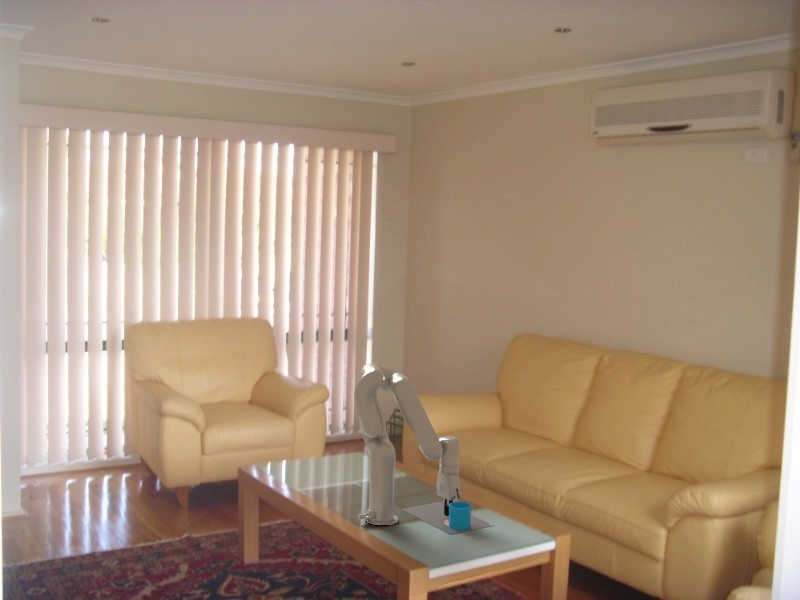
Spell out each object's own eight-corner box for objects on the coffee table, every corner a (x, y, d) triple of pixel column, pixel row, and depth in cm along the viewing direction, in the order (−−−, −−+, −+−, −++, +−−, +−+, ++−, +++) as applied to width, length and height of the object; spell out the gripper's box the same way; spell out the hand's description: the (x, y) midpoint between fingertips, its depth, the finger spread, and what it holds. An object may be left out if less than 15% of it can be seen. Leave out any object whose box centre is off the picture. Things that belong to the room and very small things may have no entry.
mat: (451, 534, 314) (451, 534, 314) (400, 509, 343) (400, 509, 343) (493, 525, 325) (493, 525, 325) (441, 501, 354) (441, 501, 354)
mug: (473, 529, 320) (473, 507, 320) (452, 530, 319) (452, 509, 318) (464, 518, 332) (464, 498, 331) (443, 520, 330) (444, 499, 330)
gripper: (430, 465, 335) (429, 511, 337) (452, 474, 323) (452, 522, 324) (445, 462, 340) (445, 508, 341) (468, 471, 327) (467, 518, 328)
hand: (448, 514), depth 333 cm, fingers closed
